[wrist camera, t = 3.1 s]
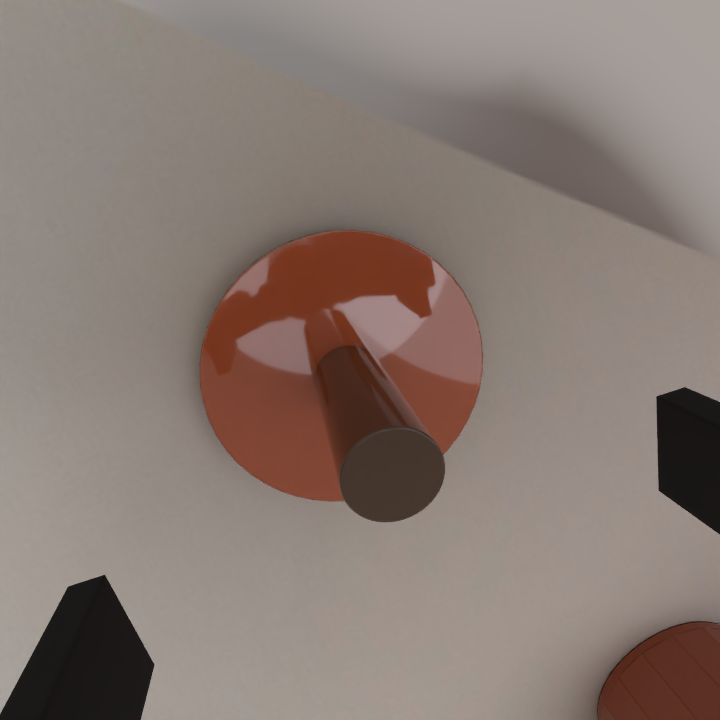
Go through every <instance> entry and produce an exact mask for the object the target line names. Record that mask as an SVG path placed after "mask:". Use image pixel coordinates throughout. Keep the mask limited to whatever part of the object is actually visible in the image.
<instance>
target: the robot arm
mask: <svg viewBox="0 0 720 720" xmlns="http://www.w3.org/2000/svg"><path fill="white" fill-rule="evenodd" d="M657 438H658V479H659V491H660V492H661V493H663V494H664V495H666V496H667V497H668V498H670V499H671V500H673V501H674V502H675V503H677V504H678V505H680V506H681V507H682V508H684V509H685V510H687V511H688V512H689V513H691V514H692V515H693V516H695V517H696V518H698V519H699V520H700V521H702V522H703V523H705V524H706V525H707V526H709V527H710V528H712V529H713V530H714V531H716V532H717V533H719V534H720V402H718V401H716V400H713V399H711V398H709V397H706V396H704V395H702V394H699V393H697V392H695V391H692V390H690V389H688V388H685V387H684V388H681V389H678V390H675V391H672V392H669V393H666V394H663V395H660V396H657ZM153 668H154V663H153V661H152V660H151V658H150V656H149V654H148V652H147V650H146V649H145V647H144V645H143V643H142V641H141V640H140V638H139V636H138V634H137V632H136V631H135V629H134V627H133V625H132V623H131V621H130V620H129V618H128V616H127V614H126V612H125V611H124V609H123V607H122V605H121V603H120V601H119V600H118V598H117V596H116V594H115V592H114V591H113V589H112V587H111V585H110V583H109V581H108V580H107V578H106V576H105V575H103V576H100V577H97V578H93V579H90V580H87V581H84V582H81V583H78V584H75V585H72V586H69V587H68V588H67V590H66V592H65V594H64V596H63V597H62V599H61V601H60V603H59V605H58V607H57V609H56V611H55V612H54V614H53V616H52V618H51V620H50V622H49V624H48V626H47V627H46V629H45V631H44V633H43V635H42V637H41V639H40V641H39V642H38V644H37V646H36V648H35V650H34V652H33V654H32V656H31V657H30V659H29V661H28V663H27V665H26V667H25V669H24V671H23V672H22V674H21V676H20V678H19V680H18V682H17V684H16V686H15V688H14V689H13V691H12V693H11V695H10V697H9V699H8V701H7V703H6V704H5V706H4V708H3V710H2V712H1V714H0V720H141V716H142V712H143V708H144V704H145V700H146V696H147V692H148V688H149V684H150V680H151V676H152V672H153Z"/></svg>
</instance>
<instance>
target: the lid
mask: <svg viewBox="0 0 720 720" xmlns="http://www.w3.org/2000/svg"><path fill="white" fill-rule="evenodd" d="M482 363H483V353H482V342H481V336H480V331H479V327H478V323H477V320H476V317H475V314H474V312H473V309H472V307H471V305H470V303H469V301H468V299H467V297H466V295H465V294H464V292H463V290H462V289H461V287H460V286H459V285H458V283H457V282H456V281H455V279H454V278H453V277H452V276H451V275H450V274H449V273H448V272H447V271H446V270H445V269H444V268H443V267H442V266H441V265H440V264H439V263H438V262H437V261H435V260H434V259H433V258H431V257H430V256H429V255H427V254H426V253H425V252H423V251H421V250H419V249H418V248H416V247H414V246H412V245H410V244H409V243H406V242H403V241H401V240H398V239H396V238H393V237H390V236H386V235H382V234H377V233H373V232H368V231H356V230H337V231H326V232H321V233H316V234H310V235H307V236H304V237H301V238H298V239H295V240H292V241H289V242H287V243H285V244H283V245H281V246H279V247H277V248H275V249H273V250H271V251H270V252H269V253H267V254H266V255H264V256H263V257H261V258H260V259H258V260H257V261H255V262H254V263H253V264H252V265H251V266H250V267H249V268H248V269H246V270H245V271H244V272H243V273H242V274H241V275H240V276H239V277H238V278H237V279H236V281H235V282H234V283H233V284H232V285H231V287H230V288H229V289H228V290H227V292H226V293H225V295H224V297H223V298H222V300H221V301H220V303H219V305H218V306H217V308H216V310H215V312H214V314H213V316H212V319H211V321H210V323H209V325H208V328H207V331H206V335H205V338H204V342H203V345H202V352H201V360H200V387H201V393H202V399H203V404H204V407H205V410H206V413H207V416H208V419H209V422H210V424H211V426H212V428H213V430H214V432H215V434H216V436H217V437H218V439H219V440H220V442H221V443H222V445H223V446H224V448H225V449H226V451H227V452H228V453H229V454H230V455H231V456H232V457H233V458H234V460H235V461H236V462H237V463H238V464H239V465H240V466H242V467H243V468H244V469H245V470H246V471H247V472H249V473H250V474H251V475H253V476H254V477H256V478H257V479H259V480H260V481H262V482H263V483H265V484H267V485H269V486H271V487H273V488H275V489H277V490H279V491H282V492H285V493H288V494H291V495H294V496H297V497H302V498H307V499H312V500H321V501H345V502H346V503H347V505H348V506H349V507H350V508H351V509H352V510H353V511H354V512H355V513H357V514H358V515H360V516H362V517H364V518H366V519H369V520H372V521H377V522H395V521H400V520H404V519H406V518H409V517H411V516H413V515H415V514H417V513H419V512H420V511H422V510H423V509H424V508H425V507H427V506H428V505H429V504H430V503H431V502H432V500H433V499H434V498H435V497H436V495H437V493H438V492H439V490H440V488H441V486H442V483H443V479H444V474H445V462H444V457H443V454H444V453H445V452H446V451H447V450H448V449H449V448H450V446H451V445H452V444H453V442H454V441H455V440H456V439H457V437H458V436H459V434H460V433H461V431H462V429H463V428H464V426H465V424H466V423H467V421H468V419H469V417H470V414H471V412H472V410H473V407H474V405H475V402H476V398H477V395H478V392H479V388H480V382H481V376H482Z"/></svg>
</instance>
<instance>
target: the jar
mask: <svg viewBox="0 0 720 720" xmlns="http://www.w3.org/2000/svg"><path fill="white" fill-rule="evenodd" d="M598 717H599V720H720V625H719V624H716V623H710V622H695V623H688V624H683V625H679V626H676V627H673V628H670V629H667V630H665V631H663V632H660V633H658V634H657V635H655V636H653V637H651V638H649V639H648V640H646V641H645V642H643V643H642V644H640V645H639V646H638V647H636V648H635V649H634V650H632V651H631V652H630V653H629V654H628V655H627V656H626V657H625V658H624V659H623V660H622V661H621V662H620V663H619V664H618V665H617V667H616V668H615V669H614V671H613V672H612V673H611V675H610V676H609V678H608V680H607V681H606V683H605V685H604V687H603V689H602V692H601V695H600V698H599V703H598Z"/></svg>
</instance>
